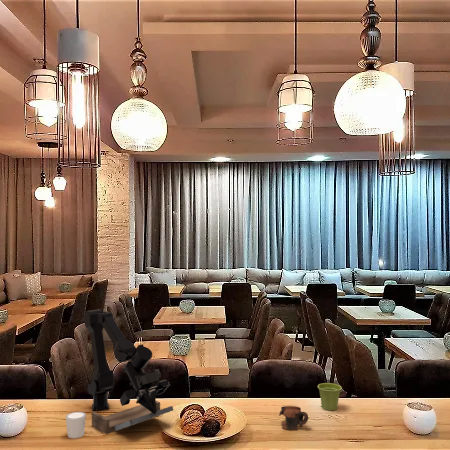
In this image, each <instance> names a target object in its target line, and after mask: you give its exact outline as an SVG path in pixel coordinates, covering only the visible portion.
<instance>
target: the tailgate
mask: <svg viewBox="0 0 450 450" xmlns="http://www.w3.org/2000/svg"><path fill="white" fill-rule="evenodd" d="M172 411H174V406H173V405H170V406H168V407H164V408H160V410H158V411H157V413H156V414H153V413H150V414H147V415H144V416H141V417H138V418H135V419H132V420H130V421H127V422H125V423H122V424H119V425H117V426H114V427H115V431H114V432H117V431H120V430H122V428H123V429H125V427H126V428H128V427H131V426H134V425H137V424H140V423H143V422H145V421H148V420H151V419H153V417H154V418H156V416H157V417H158V416H162V415H164V414H168V413H170V412H172ZM139 422H140V423H139Z"/></svg>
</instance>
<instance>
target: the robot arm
mask: <svg viewBox="0 0 450 450" xmlns="http://www.w3.org/2000/svg"><path fill="white" fill-rule="evenodd" d="M82 320H83V322H84V327H85V328H86V331H88V332H89V334H90V340H91V341H90V343H91V349H92V356H93V357H92V358H93V364H94V365H93V367H94V370H93V371H92V372H93V373H92V375H91V383H90V384H89V385H88V387H87V393H88V394H89V395H91V396H92V397H93V398H92V401H93V402H92V406H91V407H92V408H91V411H92V412H96V411H104V410H110V406H109V405H110V404H109V402H108V401H109V400H108V399H109V398H108V397H109V396H108V395H109V394H108V392H113V391H114V384H115V377H114V371H113V369H110V368H109V367H108V362H107V355H106V354H107V353H106V347H105V340H104V333H103V332H104V331H105V332H106V334H107V337H108V338H109V339H110V341H111V343H112V345H113V354H114V356H115V358H116V361H117V362H118V363H125V362H126V363H125V364H123V367H122V373H126V374H127V376H128V378H129V380H130V382H129V385H130V387H131V386H132V387H133V388H132V389H129V390H125V391H124V392H123V394H122V395H121V396H120V399H119V401H120V405H121V406H126V405H129V404H130V402H131V400H132V399H136V401H135V403H136V404H139V405H142V406H144V407H145V408H147V409H148V410H149V411H150V412H152V413H153V414H156V413H157V409H156V401H157V400H156V396H158V395H162V394H163V393H165V392H166V390H167V389H168V388H169V387H170V386H171V384H170V382H169V380H167V379H161V380H160V381H159V379H160V378H161V376H162V374H161V371H160V369H159V368H157V369H153V370H152V371H151V373H148V372H147V371H144V368H145V367H146V366H147V365H148V363H149V362H150V360H151V359H153V351H152V350H151V349H150V348H149V347H147V346H145V345H144V344H139V345H136V346H135V345H134V343H133V342H132V341H131V340H129V339H128V338H126V337H125V335H124V334H123V332H122V330H121V328H120V326H118V324H117V322H116V321H115V319H114V314H113V313H112V312H110V311H103V309H101V308H100V309H94V310H93V309H91V310H86V311H85V313H84V314H83V316H82ZM103 330H104V331H103ZM155 382H156V383H155ZM154 384H155V385H154Z"/></svg>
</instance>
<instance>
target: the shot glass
mask: <svg viewBox="0 0 450 450" xmlns="http://www.w3.org/2000/svg"><path fill="white" fill-rule="evenodd" d="M86 420H87V419H86V412H83V411H74V412H70V413H68V414H66V416H65V425H66V432H67V434H66V435H67V437H68V438H69V439H79V438H81V437H83V436H84V435H85V430H86V429H85V428H86Z"/></svg>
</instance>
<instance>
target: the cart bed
mask: <svg viewBox="0 0 450 450" xmlns="http://www.w3.org/2000/svg"><path fill="white" fill-rule="evenodd" d="M156 409H157V411H158V410H161V402H160V401H158V400H156ZM150 413H152V412H150V411H149V410H148V409H147V408H145V407H144V406H142V405H140V404H139V405H135V406H133V407H130V408H126V409H123V410H121V411H117V412H114V413H111V414H108V415H106V416H104V415H102V414H99V413H98V412H96V411H92V412H91V427H93V428H95V429H96V430H98V431H100V432H102V433H103V434H105V435H108V434H111V433H114V432H116V431H115V427H114V426H117V425H119V424H122V423H125V422H127V421H130V420H132V419H135V418H138V417H141V416H144V415H147V414H150ZM156 417H158V416H156ZM156 417H153V418H156ZM153 418H152V419H153ZM140 423H141V422H139V423H138V424H140ZM125 428H127V427H125ZM125 428H122V429H125ZM122 429H121V430H122Z"/></svg>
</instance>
